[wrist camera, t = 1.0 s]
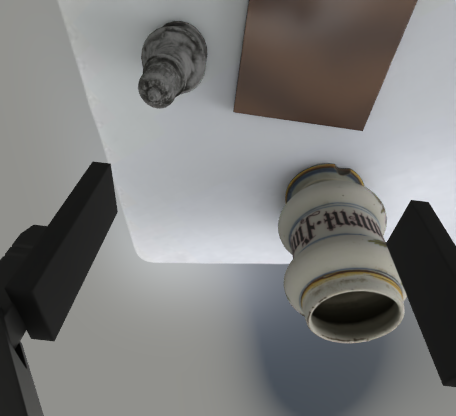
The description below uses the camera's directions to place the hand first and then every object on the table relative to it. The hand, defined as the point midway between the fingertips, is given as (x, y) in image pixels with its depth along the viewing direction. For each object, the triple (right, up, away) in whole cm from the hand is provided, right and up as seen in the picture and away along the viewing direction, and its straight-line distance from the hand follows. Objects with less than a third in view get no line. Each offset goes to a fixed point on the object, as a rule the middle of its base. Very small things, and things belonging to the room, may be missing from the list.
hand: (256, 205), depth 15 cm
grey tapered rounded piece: (-6, +15, +18) cm, 25 cm away
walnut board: (+7, +17, +15) cm, 24 cm away
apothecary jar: (+11, +2, +28) cm, 31 cm away
